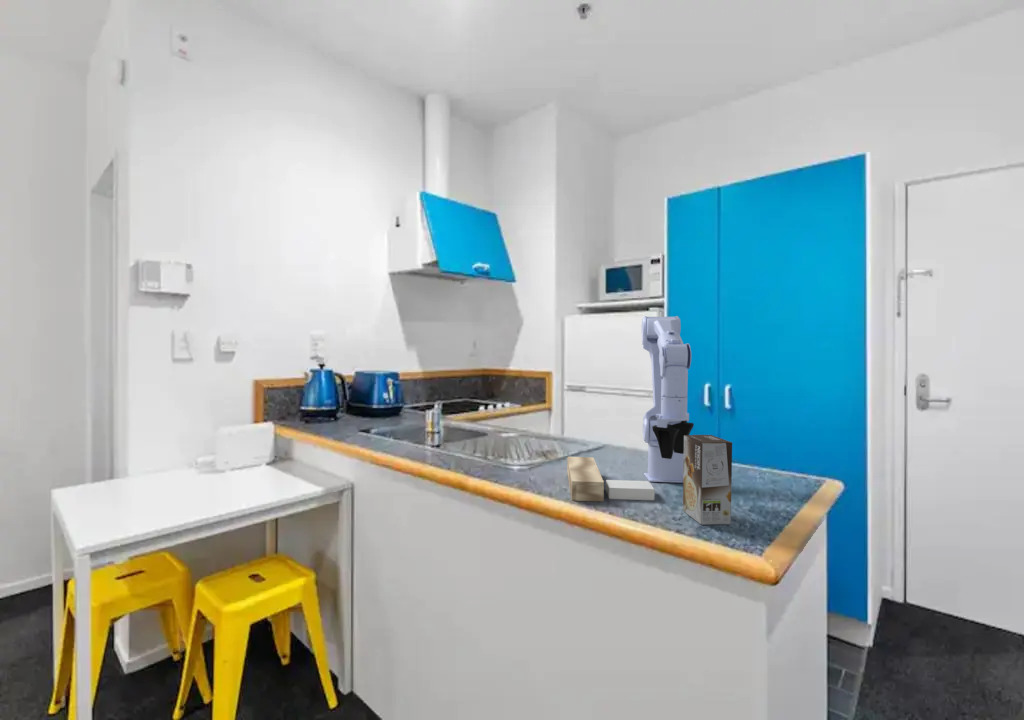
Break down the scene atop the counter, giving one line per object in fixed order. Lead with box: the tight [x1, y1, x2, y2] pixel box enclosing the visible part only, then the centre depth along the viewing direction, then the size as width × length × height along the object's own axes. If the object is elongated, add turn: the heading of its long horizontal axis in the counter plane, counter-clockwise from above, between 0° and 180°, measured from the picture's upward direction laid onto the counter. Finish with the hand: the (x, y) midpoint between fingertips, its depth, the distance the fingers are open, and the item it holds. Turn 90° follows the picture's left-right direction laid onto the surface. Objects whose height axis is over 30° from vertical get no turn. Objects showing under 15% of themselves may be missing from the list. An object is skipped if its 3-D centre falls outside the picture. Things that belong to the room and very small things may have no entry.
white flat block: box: [605, 479, 656, 501], centre depth 117 cm, size 10×7×2 cm
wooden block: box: [566, 456, 605, 503], centre depth 125 cm, size 7×26×4 cm, turn 176°
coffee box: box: [682, 434, 733, 526], centre depth 102 cm, size 9×6×16 cm
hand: (672, 455), depth 116 cm, fingers open, 7 cm apart
